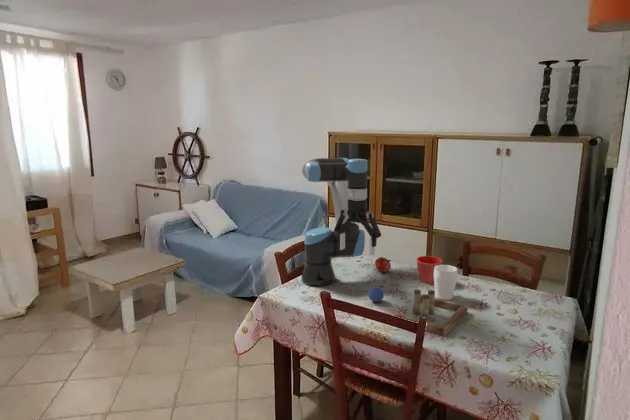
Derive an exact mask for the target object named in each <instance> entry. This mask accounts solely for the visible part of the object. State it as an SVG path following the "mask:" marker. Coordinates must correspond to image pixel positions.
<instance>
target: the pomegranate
mask: <svg viewBox="0 0 630 420" xmlns="http://www.w3.org/2000/svg"><path fill="white" fill-rule="evenodd" d="M391 262H392V260H391V259H388V258H386V257H383V256H382V257H381V256H380V257H378V258H376V260H375V261H374V265H375V269H374V271H376V270H378V271H379V273H382V274H384V272H385V273H387V272H388V271H390V269H391V267H392V265H391Z"/></svg>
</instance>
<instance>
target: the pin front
mask: <svg viewBox="0 0 630 420" xmlns="http://www.w3.org/2000/svg"><path fill="white" fill-rule="evenodd" d="M421 291H422V290H420V289H414V290H413V304H412V305H413V307H412V312H413V314H415V315H419V314H421V302H420V298H421V295H422V293H421Z"/></svg>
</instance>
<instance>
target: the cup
mask: <svg viewBox="0 0 630 420" xmlns="http://www.w3.org/2000/svg"><path fill="white" fill-rule="evenodd" d="M457 279H458V268H457V267H455V266H454V265H451V264H441V265H437V266H435V267H434V283H433V285H434V291H435V298H437V299H441V300H445V301H449V300H452V299H453V298H454V293H455V289H456V285H457Z"/></svg>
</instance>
